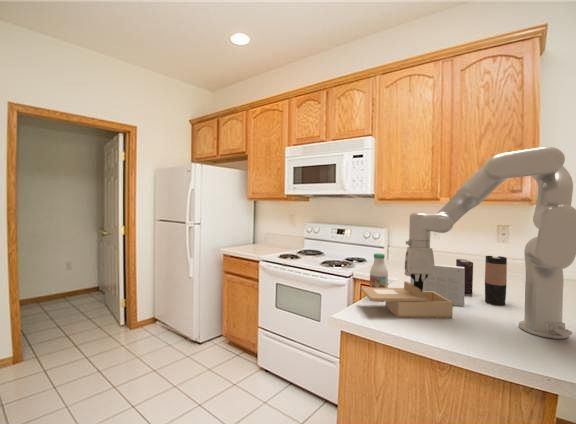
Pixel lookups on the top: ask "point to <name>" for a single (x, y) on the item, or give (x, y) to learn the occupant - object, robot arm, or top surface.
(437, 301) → the mailer box
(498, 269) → the travel mug
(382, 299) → the lid
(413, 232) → the robot arm
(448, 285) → the skincare box
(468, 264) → the supplement box
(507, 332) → the top surface
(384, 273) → the milk bottle
